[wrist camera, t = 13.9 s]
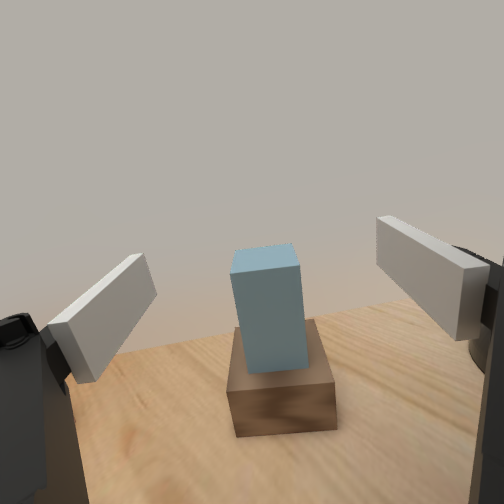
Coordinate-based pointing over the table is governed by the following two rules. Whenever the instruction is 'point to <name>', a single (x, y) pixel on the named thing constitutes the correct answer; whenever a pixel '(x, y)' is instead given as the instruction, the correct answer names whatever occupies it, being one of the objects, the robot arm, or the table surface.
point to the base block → (282, 393)
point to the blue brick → (270, 308)
